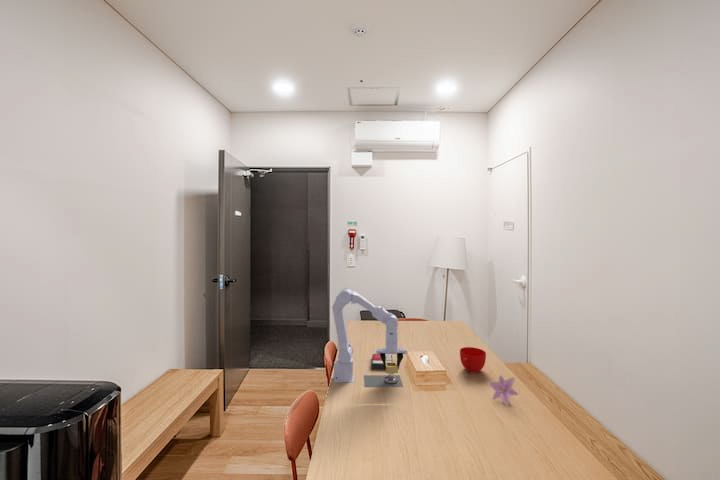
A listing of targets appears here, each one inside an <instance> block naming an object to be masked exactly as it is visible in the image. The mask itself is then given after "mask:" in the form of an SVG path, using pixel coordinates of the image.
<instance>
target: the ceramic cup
mask: <svg viewBox="0 0 720 480" xmlns="http://www.w3.org/2000/svg"><path fill="white" fill-rule="evenodd" d="M459 358H460V362H461V365H462V366H463V367H462V368H464V369H465V370H466V371H467V373H470V374H471V373H472V374H478V373H480V371H482V369H483V368H484V367H485V365H486V360H487V359H486V358H487V352H486V351H485V350H483V349H480V348H478V347H474V346H473V347H471V346H469V347H467V346H466V347H461V348H460V349H459Z"/></svg>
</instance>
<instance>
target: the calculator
mask: <svg viewBox="0 0 720 480" xmlns="http://www.w3.org/2000/svg"><path fill="white" fill-rule="evenodd" d="M371 356H372V360H371V370H379V371H381V370H384V364H383V361H382V359H381V356H380V354H379V355H377V354H376V353H373V354H372V355H371ZM385 356H386V362H394V361H393V354H385ZM384 371H385V370H384Z"/></svg>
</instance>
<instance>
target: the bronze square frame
mask: <svg viewBox="0 0 720 480" xmlns="http://www.w3.org/2000/svg"><path fill="white" fill-rule="evenodd" d="M384 371H385V373H386V374H388V373H394V374H398V373H399V370H398V365H397V361H393V362H386V370H384Z"/></svg>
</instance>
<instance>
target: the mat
mask: <svg viewBox="0 0 720 480" xmlns="http://www.w3.org/2000/svg"><path fill="white" fill-rule="evenodd" d="M386 376H388V374H386V375H385V374H382V375H381V374H379V375H377V374H376V375H372V374H370V375H369V374H368V375H367V374H366V375H363V383H364V388H403V387H404V385H403V381H402V379H401V375H400V374H396V375H395V374H394V376H395V377H397V378H398V382H397V383H395V384H388V383H386V382H385V381H384V378H385V377H386Z"/></svg>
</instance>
